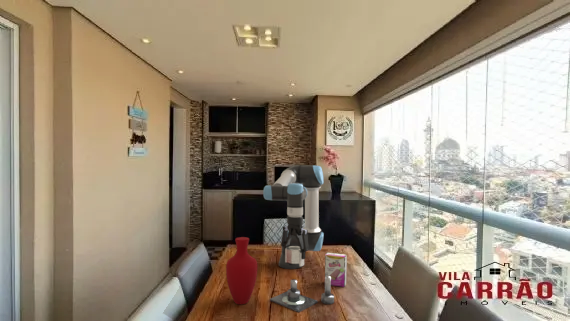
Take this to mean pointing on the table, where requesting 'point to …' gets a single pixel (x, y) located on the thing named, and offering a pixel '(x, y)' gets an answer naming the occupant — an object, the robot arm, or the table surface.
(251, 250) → the table surface
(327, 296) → the stand
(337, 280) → the candy bar box
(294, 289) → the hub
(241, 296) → the vase
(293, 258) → the bushing
